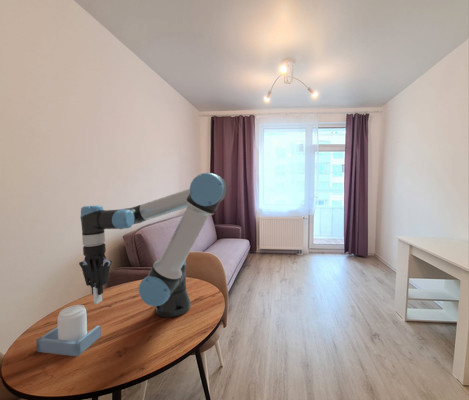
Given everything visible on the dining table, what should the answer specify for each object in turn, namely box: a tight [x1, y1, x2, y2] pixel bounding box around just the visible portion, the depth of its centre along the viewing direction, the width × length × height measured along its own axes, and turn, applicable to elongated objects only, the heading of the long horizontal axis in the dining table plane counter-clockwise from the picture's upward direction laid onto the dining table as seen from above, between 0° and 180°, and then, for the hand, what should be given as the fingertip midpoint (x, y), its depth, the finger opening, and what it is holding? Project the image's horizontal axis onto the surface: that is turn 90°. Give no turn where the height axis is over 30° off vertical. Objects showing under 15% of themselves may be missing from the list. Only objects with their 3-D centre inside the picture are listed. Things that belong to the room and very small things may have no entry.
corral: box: [35, 324, 102, 358], centre depth 76 cm, size 15×10×4 cm, turn 81°
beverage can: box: [56, 304, 88, 342], centre depth 76 cm, size 8×8×12 cm
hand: (98, 302), depth 88 cm, fingers closed
